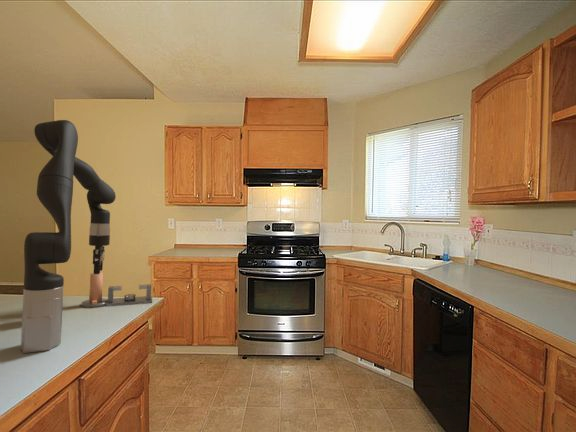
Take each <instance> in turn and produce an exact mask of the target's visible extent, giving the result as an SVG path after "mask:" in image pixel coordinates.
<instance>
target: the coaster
mask: <svg viewBox="0 0 576 432" xmlns="http://www.w3.org/2000/svg"><path fill="white" fill-rule="evenodd" d="M106 303H108V298H104V297H102V302H99V303H97V304H96V305H92V303H89V299H86V300H83V301H82V302H81V307H82V308H84V309H85V308H87V309H94V308H95V309H96V308H101V307H107V306H106Z"/></svg>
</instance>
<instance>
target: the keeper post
mask: <svg viewBox="0 0 576 432" xmlns="http://www.w3.org/2000/svg"><path fill="white" fill-rule="evenodd" d="M107 289H108V290H107V299H108V303H106V306H105V307H110V306H111V307H114V306H126V305H128V304H129V305H137V304H138V305H140V304H139V303H143V304H152V303H153V296H152V284H151V283H149V284H138V290H146V294H145V296H136V294H135V293H128V294H125V295H124V297H118V298H117V297H116V298H114V295H115V294H114V291H115V292H117V291H122V289H123V285H110V286H108V288H107Z"/></svg>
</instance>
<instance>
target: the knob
mask: <svg viewBox="0 0 576 432" xmlns="http://www.w3.org/2000/svg"><path fill="white" fill-rule="evenodd" d="M89 275H90V277H89V295H88V296H89V298H88V300H89V303H92V305H96V304H97V303H99V302H102V298H103V283H104V281H103V280H104V273H103V272H101V271H100V273H99V274H94V272H91V273H90V274H89Z"/></svg>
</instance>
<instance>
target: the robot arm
mask: <svg viewBox="0 0 576 432" xmlns="http://www.w3.org/2000/svg"><path fill="white" fill-rule="evenodd" d="M33 129H34V136H35V138H36V140H37V142H38V143H39V144H40V145H41V147H42V148H43V149H44V150H45V151H46V152H48V153H49V155H51V156H52V157H51V158H50V159H49V160H48V162H47V163H46V164H45V165H44V166H43V167H42V169H41V170H40V172H39V173H38V177H37V183H36V196H37V198H38V200H39V202H40V203H41V204H42V206H43V207H44V208H45V209H46V210H47V212H48V213H49V214H50V216H51V217H52V219H53V220H54V222H55V224H56V226H57V229H58V230H57V231H58V232H52V231H51V232H41V231H40V232H29V233H28V234H27V235H26V236H25V239H24V242H23V243H24V244H23V246H24V247H23V253H24V254H23V257H24V259H23V261H24V272H23V273H24V277H23V291H22V292H23V293H22V295H23V296H22V311H21V312H22V314H21V320H22V321H21V338H20V339H21V340H20V351H22V353H23V354H29V353H35V352H36V353H37V352H42V351H43V352H44V351H50V350H52V349H53V348H56V347H57V346H59V345H60V344H61V343H62V324H63V304H64V303H63V302H64V286H65V285H64V282H65V280H64V276H62V274H58V273H53V272H49V271H47V270H46V269H43V268H41V266H40V265H48V264H49V265H51V264H52V265H53V264H65V263H67V262H68V261H69V260H70V257H71V253H72V206H73V205H72V204H73V197H74V194H73V193H74V178H75V180H77V181H78V182H79V184H80V185H81V186H82V188H83V189H85V190H86V191H87V192H86V201H87V204H88V207H89V211H90V223H89V224H90V225H89V230H88V231H89V232H88V233H89V235H88V236H89V237H88V245H89V246H91V247H94V249H93V250H92V264H93V273H94V274H99V273H100V272H101V271H103V265H104V264H103V263H104V259H105V252H106V250H105V246H109V245H110V241H111V239H110V238H111V227H110V225H111V223H110V221H111V219H110V218H111V212H110V211H109V210H107V209H104V208H103V207H102V205H111V204H113V203H114V202H115V201H116V192H115V190H114V189H113V188H112V187H111V186H110V184H108V183H107V182H105V181H104V180H102V179H101V178H100V177H99V175H98V174H97V172H96V171H95V169H94V167H92V166H91V165H90V164H88V163H87V162H85V161H84V160H82V159H80V158H79V157H77V156H76V154H77V149H78V142H79V133H78V130H77V128H76V126H75V124H74V123H73V122H72V121H70V120H69V119H68V120H67V119H58V120H52V121H51V120H50V121H45V122H41V123H37V124H36V125H35V126H34V128H33Z"/></svg>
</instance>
